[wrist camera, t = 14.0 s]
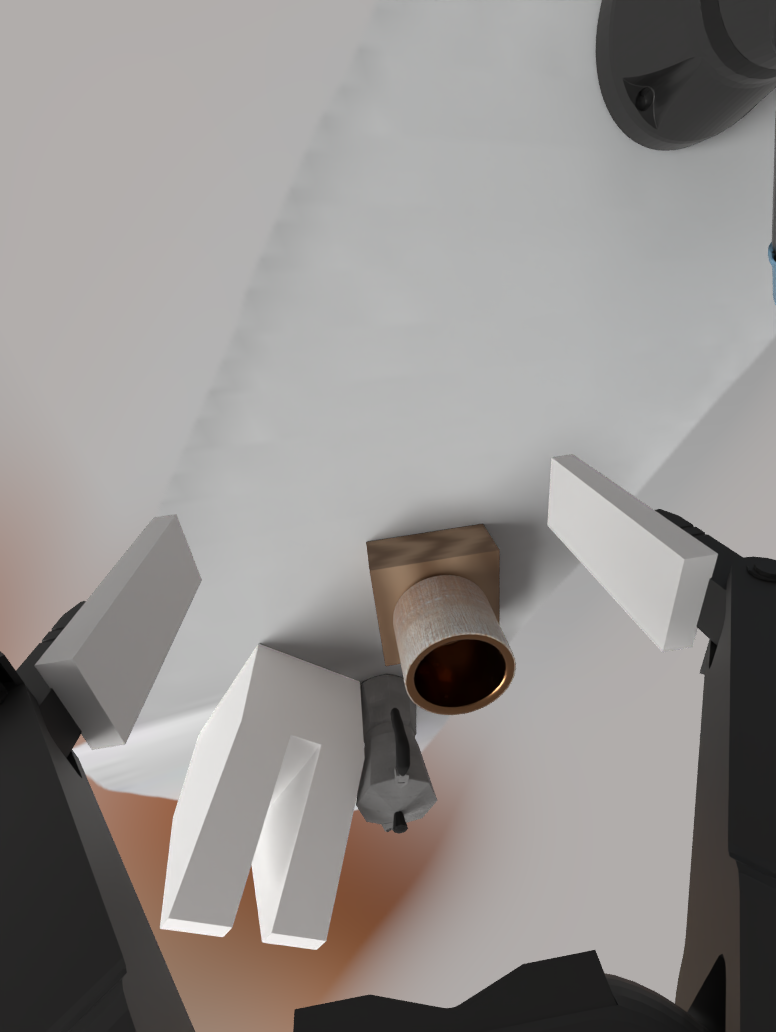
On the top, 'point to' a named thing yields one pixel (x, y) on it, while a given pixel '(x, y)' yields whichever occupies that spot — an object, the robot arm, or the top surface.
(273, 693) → the white slotted block
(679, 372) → the top surface
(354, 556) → the top surface
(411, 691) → the planter
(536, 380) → the top surface
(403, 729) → the coffeepot
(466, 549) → the plinth
